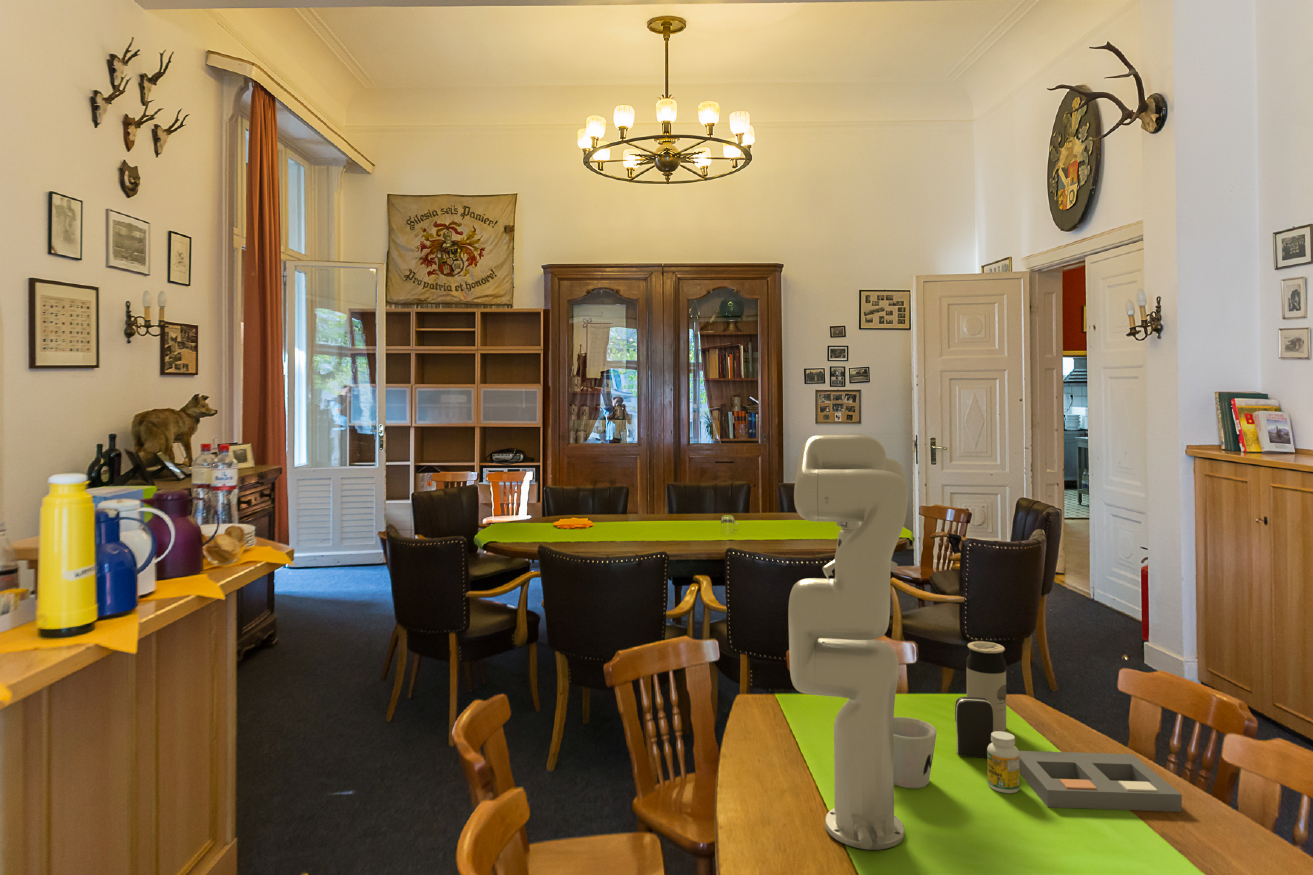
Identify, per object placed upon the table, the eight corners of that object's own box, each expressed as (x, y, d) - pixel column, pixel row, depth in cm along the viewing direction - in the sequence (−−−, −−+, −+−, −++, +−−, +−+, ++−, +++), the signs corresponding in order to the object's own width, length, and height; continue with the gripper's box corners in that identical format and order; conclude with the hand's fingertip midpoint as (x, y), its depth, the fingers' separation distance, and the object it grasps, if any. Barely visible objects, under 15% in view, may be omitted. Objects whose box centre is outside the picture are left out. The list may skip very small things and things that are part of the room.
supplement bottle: (1026, 791, 138) (1026, 739, 138) (1002, 796, 137) (1001, 743, 136) (1004, 778, 143) (1004, 727, 143) (981, 782, 142) (980, 731, 142)
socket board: (1181, 811, 130) (1181, 792, 130) (1047, 807, 132) (1047, 788, 132) (1132, 769, 146) (1132, 752, 146) (1013, 765, 148) (1013, 749, 148)
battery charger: (989, 751, 155) (989, 695, 155) (994, 759, 151) (994, 702, 151) (953, 748, 156) (953, 693, 156) (957, 756, 153) (957, 700, 153)
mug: (941, 795, 137) (941, 740, 137) (856, 788, 140) (855, 734, 140) (932, 769, 147) (932, 718, 147) (853, 763, 150) (852, 713, 150)
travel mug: (958, 724, 169) (958, 643, 169) (984, 718, 172) (984, 639, 172) (988, 737, 162) (987, 653, 162) (1014, 730, 165) (1014, 648, 165)
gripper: (831, 528, 157) (832, 610, 158) (905, 524, 162) (906, 605, 162) (815, 524, 165) (815, 602, 165) (886, 520, 169) (886, 597, 169)
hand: (860, 603), depth 163 cm, fingers open, 9 cm apart
